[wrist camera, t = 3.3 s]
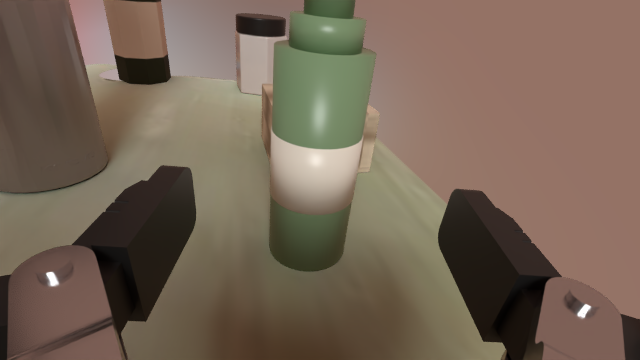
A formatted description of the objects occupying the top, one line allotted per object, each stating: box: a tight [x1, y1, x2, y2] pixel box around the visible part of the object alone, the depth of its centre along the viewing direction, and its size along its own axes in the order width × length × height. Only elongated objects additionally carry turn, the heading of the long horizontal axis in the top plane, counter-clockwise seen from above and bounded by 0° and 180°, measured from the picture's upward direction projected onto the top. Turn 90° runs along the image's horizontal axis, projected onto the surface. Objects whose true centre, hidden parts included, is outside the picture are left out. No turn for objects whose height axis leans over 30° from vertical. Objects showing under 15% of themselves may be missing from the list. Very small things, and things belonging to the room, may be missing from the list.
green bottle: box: [269, 0, 376, 271], centre depth 20 cm, size 6×6×20 cm
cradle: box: [262, 84, 380, 173], centre depth 38 cm, size 10×10×7 cm
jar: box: [235, 13, 287, 95], centre depth 58 cm, size 9×8×12 cm
